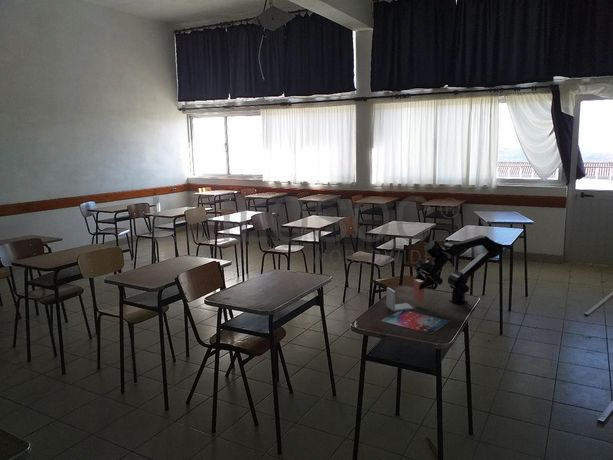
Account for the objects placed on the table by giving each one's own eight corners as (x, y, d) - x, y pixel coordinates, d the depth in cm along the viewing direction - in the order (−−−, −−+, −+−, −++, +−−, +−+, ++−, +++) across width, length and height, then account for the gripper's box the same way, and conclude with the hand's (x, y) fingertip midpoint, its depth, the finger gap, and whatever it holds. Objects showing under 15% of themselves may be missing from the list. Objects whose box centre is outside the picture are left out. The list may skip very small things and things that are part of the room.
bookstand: (406, 304, 234) (407, 285, 233) (413, 309, 228) (414, 289, 226) (386, 307, 231) (386, 287, 229) (392, 312, 225) (393, 291, 223)
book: (418, 298, 234) (419, 278, 233) (423, 301, 230) (424, 281, 228) (413, 299, 234) (413, 279, 232) (418, 302, 229) (419, 282, 227)
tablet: (400, 310, 228) (400, 308, 228) (450, 322, 213) (450, 320, 212) (379, 322, 214) (379, 320, 214) (432, 336, 198) (432, 334, 198)
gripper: (417, 248, 237) (397, 272, 236) (438, 257, 220) (415, 282, 219) (431, 263, 241) (410, 286, 240) (452, 272, 223) (430, 297, 222)
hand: (416, 287), depth 230 cm, fingers closed on book, 5 cm apart
